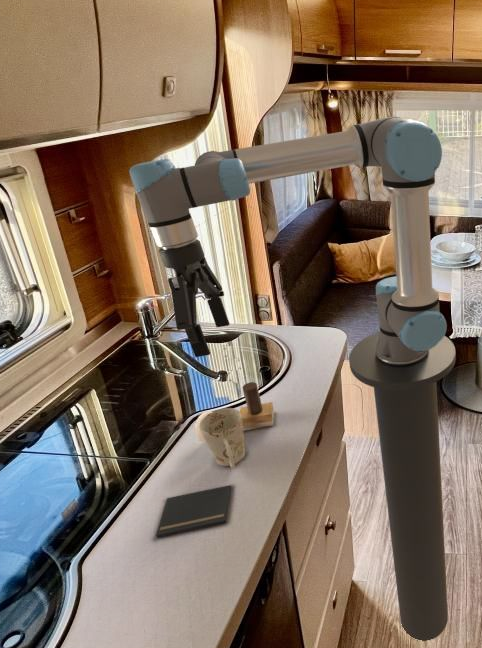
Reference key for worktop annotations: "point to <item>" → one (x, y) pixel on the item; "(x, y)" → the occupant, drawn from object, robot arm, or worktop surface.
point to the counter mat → (194, 511)
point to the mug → (224, 435)
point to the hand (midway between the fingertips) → (213, 339)
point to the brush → (255, 409)
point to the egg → (197, 428)
